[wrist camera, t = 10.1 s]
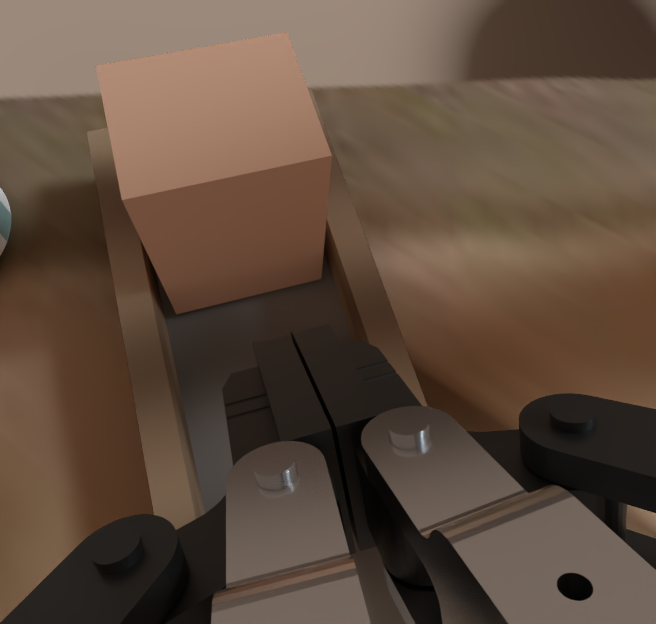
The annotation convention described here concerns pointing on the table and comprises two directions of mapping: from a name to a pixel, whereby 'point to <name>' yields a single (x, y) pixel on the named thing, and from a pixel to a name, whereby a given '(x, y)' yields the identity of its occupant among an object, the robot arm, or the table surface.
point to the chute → (234, 352)
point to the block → (221, 167)
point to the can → (4, 221)
